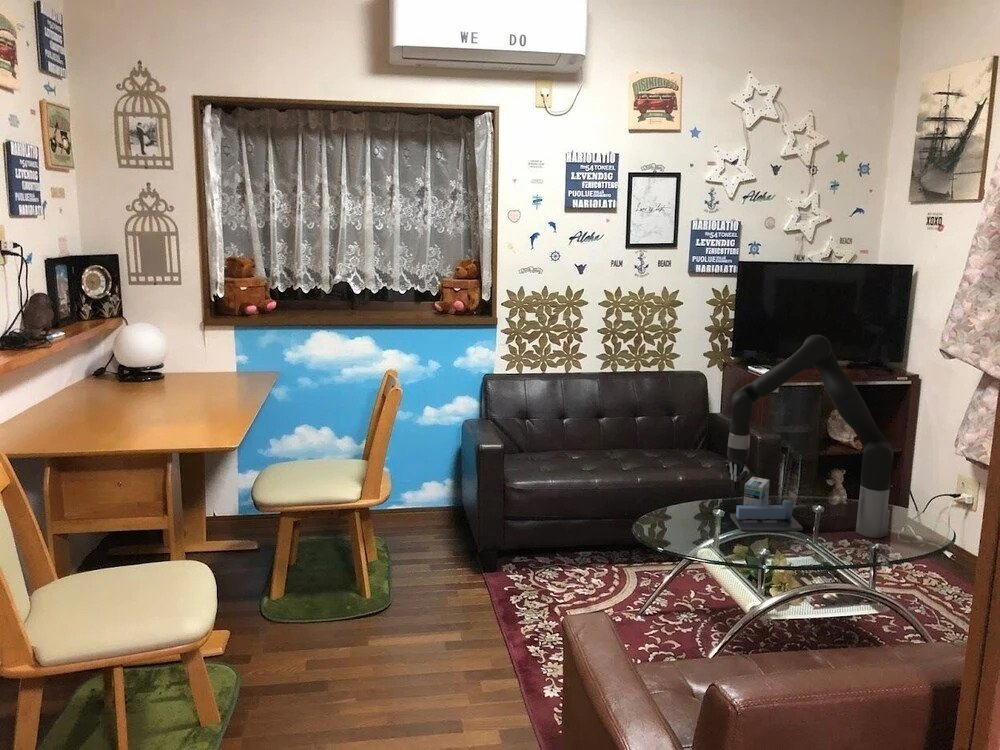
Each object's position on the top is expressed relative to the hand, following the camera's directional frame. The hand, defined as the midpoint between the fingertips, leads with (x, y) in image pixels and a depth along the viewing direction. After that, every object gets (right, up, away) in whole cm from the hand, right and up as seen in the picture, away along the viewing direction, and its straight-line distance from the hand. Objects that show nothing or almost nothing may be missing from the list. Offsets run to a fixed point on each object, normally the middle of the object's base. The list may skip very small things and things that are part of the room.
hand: (735, 489), depth 294 cm
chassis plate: (+9, -11, -6) cm, 16 cm away
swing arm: (+9, -9, -5) cm, 14 cm away
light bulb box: (+10, -8, +8) cm, 15 cm away
